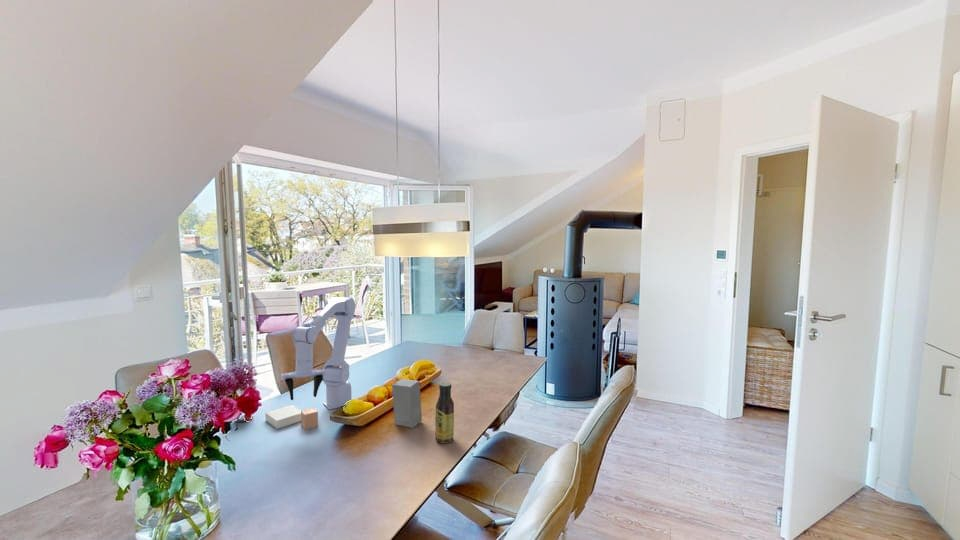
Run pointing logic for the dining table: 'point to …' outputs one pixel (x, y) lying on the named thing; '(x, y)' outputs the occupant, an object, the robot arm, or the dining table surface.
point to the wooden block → (309, 418)
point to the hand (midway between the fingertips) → (303, 397)
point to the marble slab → (283, 416)
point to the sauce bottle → (444, 414)
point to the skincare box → (407, 403)
